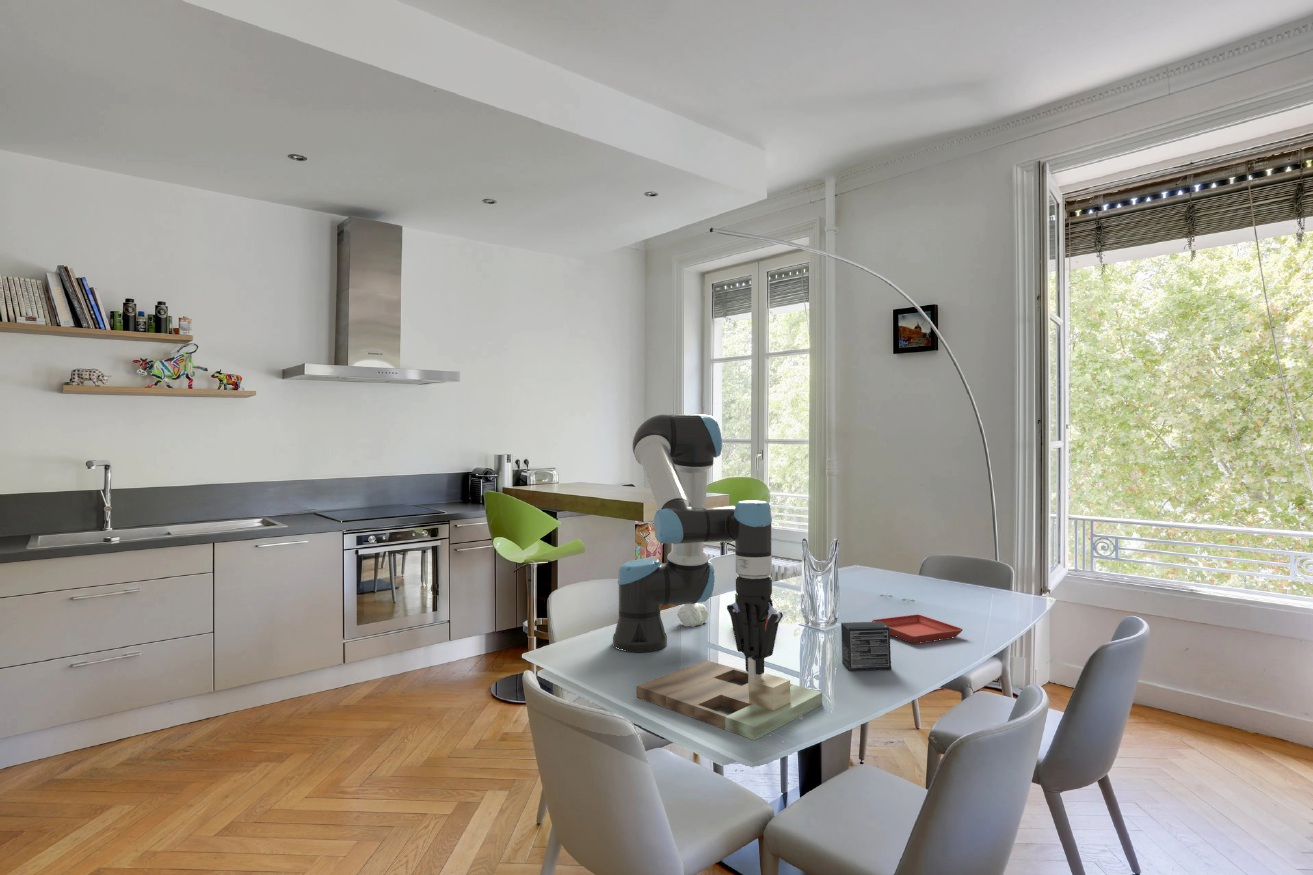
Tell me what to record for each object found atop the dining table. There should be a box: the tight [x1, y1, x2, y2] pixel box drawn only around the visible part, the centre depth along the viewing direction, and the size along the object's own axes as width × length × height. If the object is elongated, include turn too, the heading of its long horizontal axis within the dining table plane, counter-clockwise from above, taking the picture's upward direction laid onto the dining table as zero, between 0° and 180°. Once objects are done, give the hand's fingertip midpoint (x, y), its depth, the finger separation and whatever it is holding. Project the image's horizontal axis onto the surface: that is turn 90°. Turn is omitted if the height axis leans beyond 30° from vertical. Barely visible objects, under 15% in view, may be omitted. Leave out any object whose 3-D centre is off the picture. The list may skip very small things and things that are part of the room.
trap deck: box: [635, 659, 823, 741], centre depth 145 cm, size 32×24×2 cm
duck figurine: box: [676, 603, 709, 628], centre depth 209 cm, size 12×8×11 cm
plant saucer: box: [871, 614, 964, 644], centre depth 194 cm, size 18×18×3 cm
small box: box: [840, 621, 892, 672], centre depth 167 cm, size 11×6×10 cm, turn 92°
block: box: [749, 673, 791, 710], centre depth 138 cm, size 6×6×4 cm
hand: (755, 688), depth 140 cm, fingers closed
